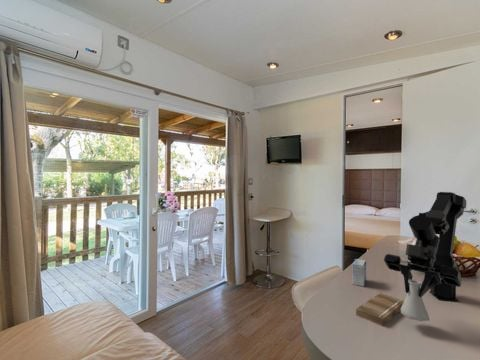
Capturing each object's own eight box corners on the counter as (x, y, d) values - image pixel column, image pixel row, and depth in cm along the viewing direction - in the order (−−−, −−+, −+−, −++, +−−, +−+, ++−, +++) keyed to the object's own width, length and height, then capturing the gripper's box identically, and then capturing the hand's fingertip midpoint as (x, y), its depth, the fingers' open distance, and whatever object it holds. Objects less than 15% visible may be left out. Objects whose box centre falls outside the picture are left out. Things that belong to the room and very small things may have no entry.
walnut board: (380, 298, 93) (380, 292, 93) (405, 306, 87) (405, 300, 87) (356, 314, 82) (356, 308, 82) (382, 326, 76) (382, 319, 76)
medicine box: (364, 287, 103) (364, 265, 103) (352, 284, 105) (352, 263, 105) (366, 280, 110) (366, 260, 109) (354, 278, 112) (355, 258, 112)
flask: (435, 323, 71) (435, 287, 71) (406, 320, 72) (406, 285, 72) (422, 310, 78) (422, 277, 78) (396, 307, 80) (396, 275, 79)
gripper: (386, 229, 85) (371, 270, 78) (459, 239, 70) (448, 291, 63) (395, 248, 90) (382, 288, 83) (465, 262, 75) (456, 312, 68)
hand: (413, 294), depth 74 cm, fingers closed on flask, 3 cm apart
